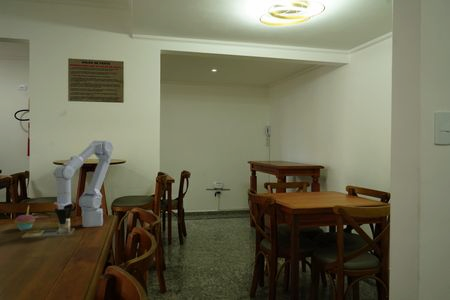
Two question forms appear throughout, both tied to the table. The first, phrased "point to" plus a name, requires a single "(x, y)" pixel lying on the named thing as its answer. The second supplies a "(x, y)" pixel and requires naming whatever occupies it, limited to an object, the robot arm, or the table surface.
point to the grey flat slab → (45, 233)
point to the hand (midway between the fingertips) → (64, 222)
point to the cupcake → (25, 221)
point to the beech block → (64, 227)
